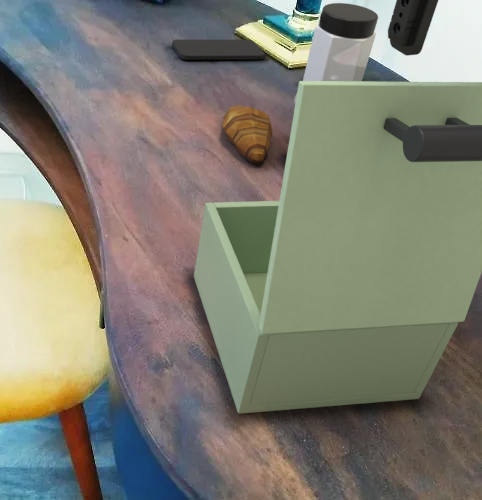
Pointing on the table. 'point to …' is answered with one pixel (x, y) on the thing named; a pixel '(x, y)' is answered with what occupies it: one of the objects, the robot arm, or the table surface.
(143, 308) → the table surface
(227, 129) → the croissant
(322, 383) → the sage green storage bin
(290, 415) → the table surface
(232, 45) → the phone
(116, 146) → the table surface
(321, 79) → the jar
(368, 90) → the green box lid
